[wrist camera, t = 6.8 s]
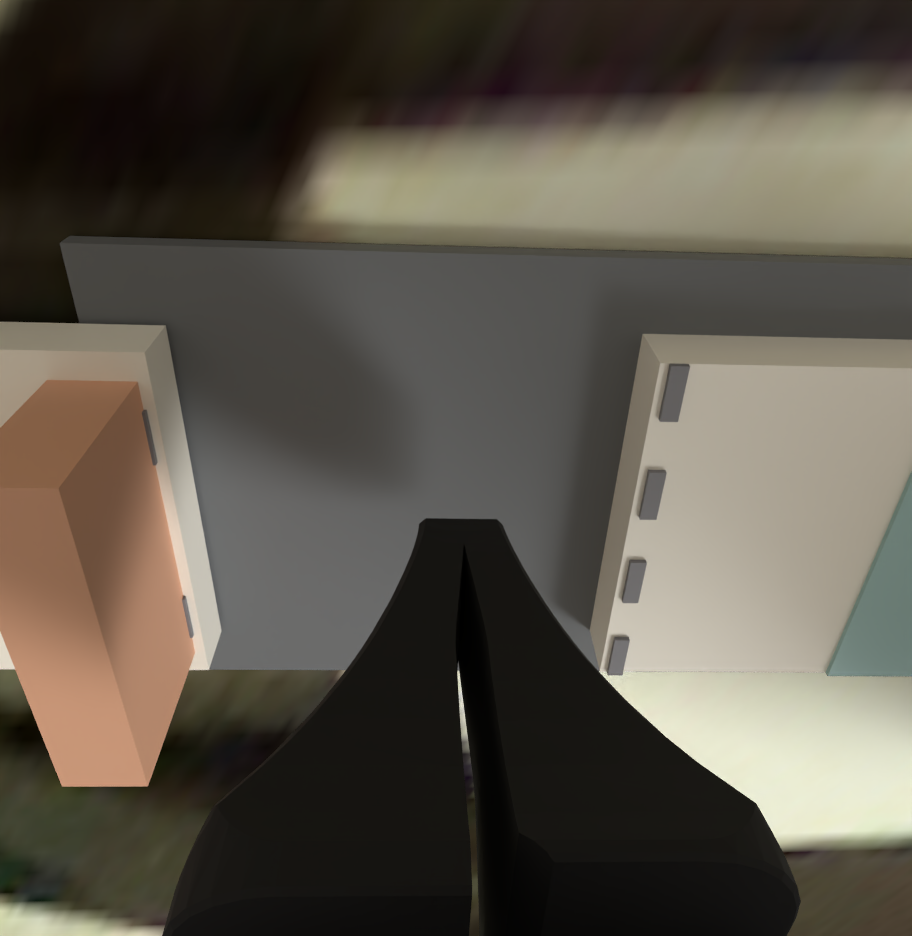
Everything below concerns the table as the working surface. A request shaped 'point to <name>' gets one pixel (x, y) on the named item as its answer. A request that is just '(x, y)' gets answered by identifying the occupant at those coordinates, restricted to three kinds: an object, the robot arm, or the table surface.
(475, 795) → the robot arm
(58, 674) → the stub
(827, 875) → the table surface
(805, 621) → the ticket
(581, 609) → the mat
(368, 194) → the table surface
